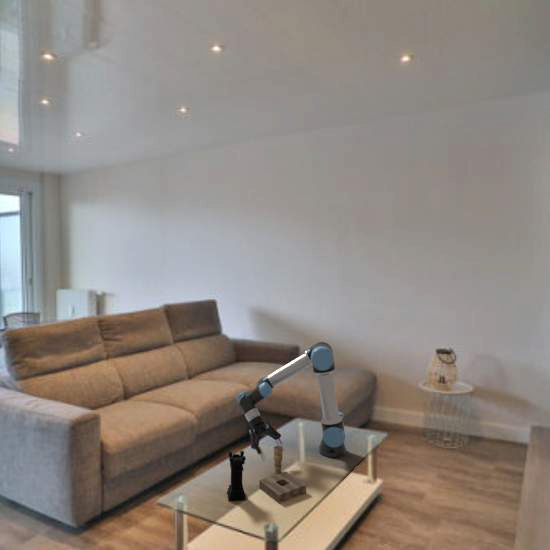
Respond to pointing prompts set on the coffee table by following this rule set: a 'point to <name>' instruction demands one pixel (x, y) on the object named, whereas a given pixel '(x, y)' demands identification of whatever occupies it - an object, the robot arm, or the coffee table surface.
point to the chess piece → (236, 477)
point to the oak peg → (278, 458)
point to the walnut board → (282, 487)
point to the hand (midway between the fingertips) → (273, 455)
